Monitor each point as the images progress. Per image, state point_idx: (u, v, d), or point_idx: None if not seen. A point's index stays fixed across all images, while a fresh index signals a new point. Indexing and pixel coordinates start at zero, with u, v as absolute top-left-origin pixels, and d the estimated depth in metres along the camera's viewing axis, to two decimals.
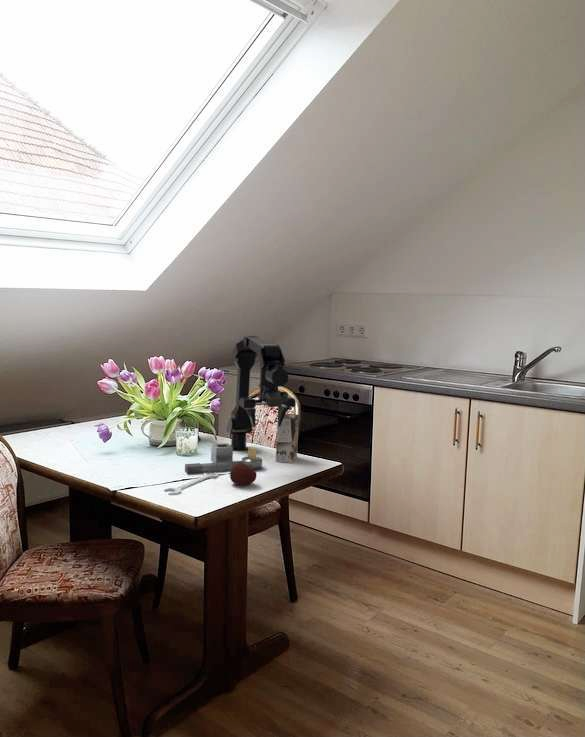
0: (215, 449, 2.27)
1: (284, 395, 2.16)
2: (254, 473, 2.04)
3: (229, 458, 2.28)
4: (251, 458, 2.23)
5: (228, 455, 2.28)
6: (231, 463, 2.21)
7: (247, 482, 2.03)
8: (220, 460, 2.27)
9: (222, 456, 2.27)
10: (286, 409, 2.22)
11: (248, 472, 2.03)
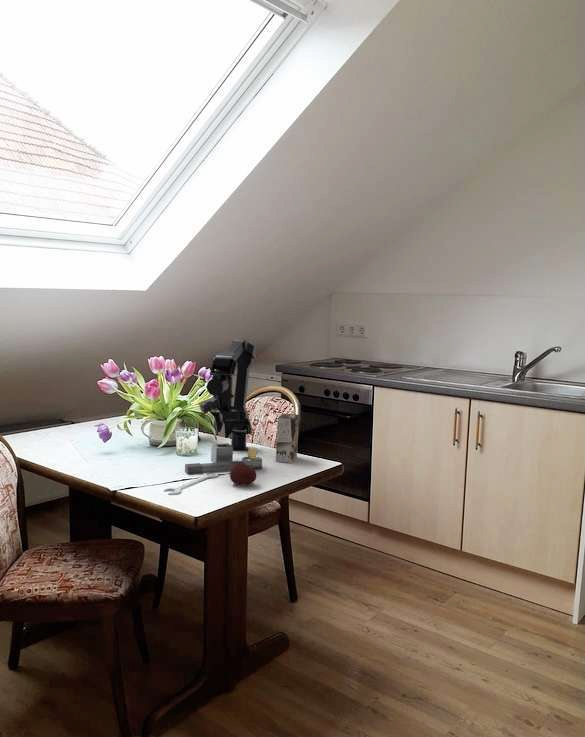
0: (215, 449, 2.27)
1: (205, 403, 2.22)
2: (254, 473, 2.04)
3: (229, 458, 2.28)
4: (251, 458, 2.23)
5: (228, 455, 2.28)
6: (231, 463, 2.21)
7: (247, 482, 2.03)
8: (220, 460, 2.27)
9: (222, 456, 2.27)
10: None
11: (248, 472, 2.03)
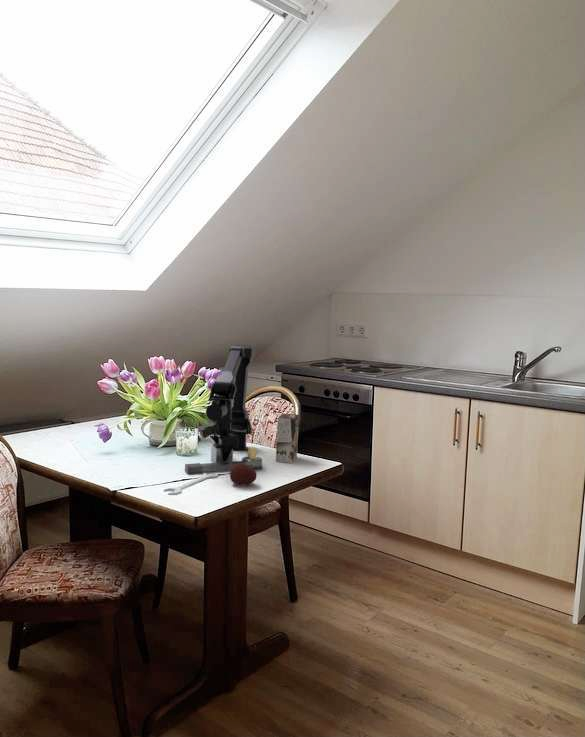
0: (215, 449, 2.27)
1: (204, 428, 2.23)
2: (254, 473, 2.04)
3: (229, 458, 2.28)
4: (251, 458, 2.23)
5: None
6: (231, 463, 2.21)
7: (247, 482, 2.03)
8: (220, 460, 2.27)
9: None
10: (219, 444, 2.24)
11: (248, 472, 2.03)
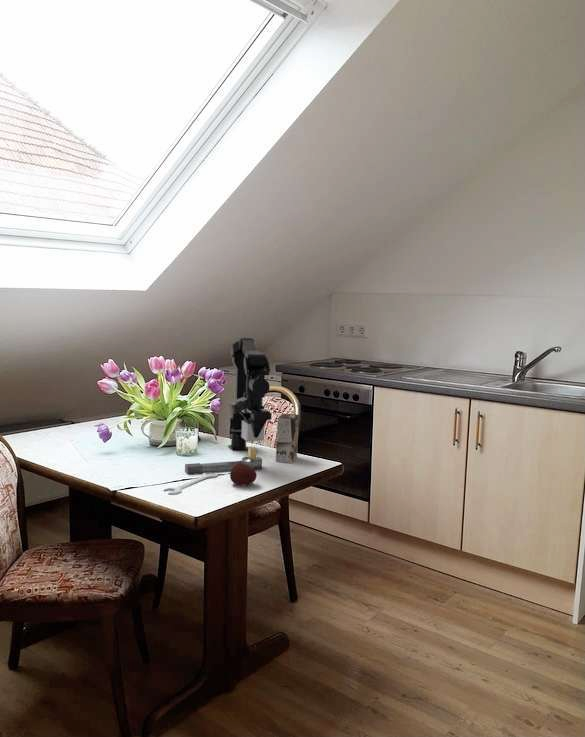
0: (246, 425, 2.20)
1: (236, 402, 2.16)
2: (254, 473, 2.04)
3: (260, 434, 2.22)
4: (251, 458, 2.23)
5: None
6: (231, 463, 2.21)
7: (247, 482, 2.03)
8: (251, 436, 2.20)
9: (253, 432, 2.20)
10: (251, 420, 2.18)
11: (248, 472, 2.03)
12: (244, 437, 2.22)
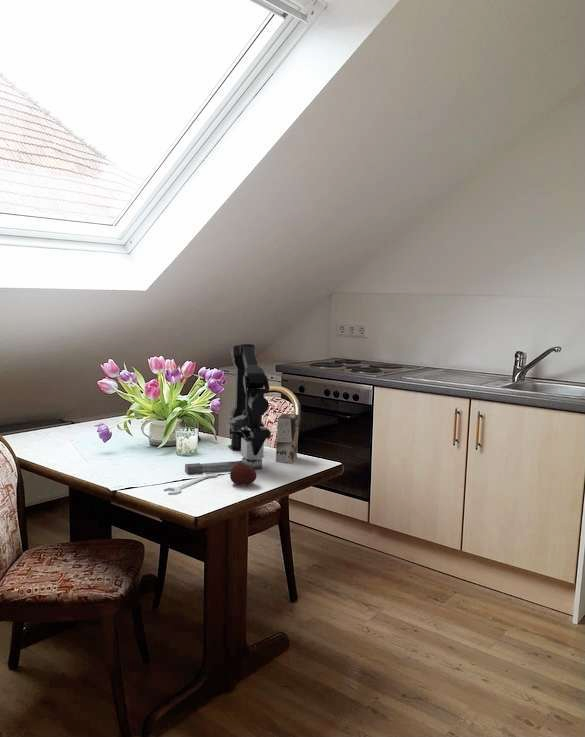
0: (245, 442, 2.21)
1: (235, 421, 2.17)
2: (254, 473, 2.04)
3: (260, 452, 2.22)
4: None
5: None
6: (231, 463, 2.21)
7: (247, 482, 2.03)
8: (251, 454, 2.21)
9: None
10: (250, 438, 2.19)
11: (248, 472, 2.03)
12: (243, 455, 2.23)
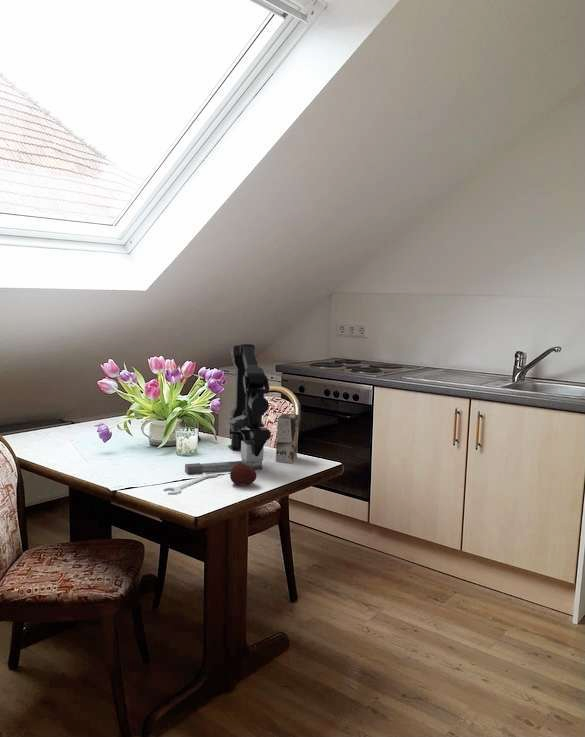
0: (245, 445, 2.21)
1: (235, 421, 2.17)
2: (254, 473, 2.04)
3: (260, 454, 2.23)
4: None
5: None
6: (231, 463, 2.21)
7: (247, 482, 2.03)
8: (251, 457, 2.21)
9: (253, 453, 2.21)
10: (251, 439, 2.17)
11: (248, 472, 2.03)
12: (243, 457, 2.23)
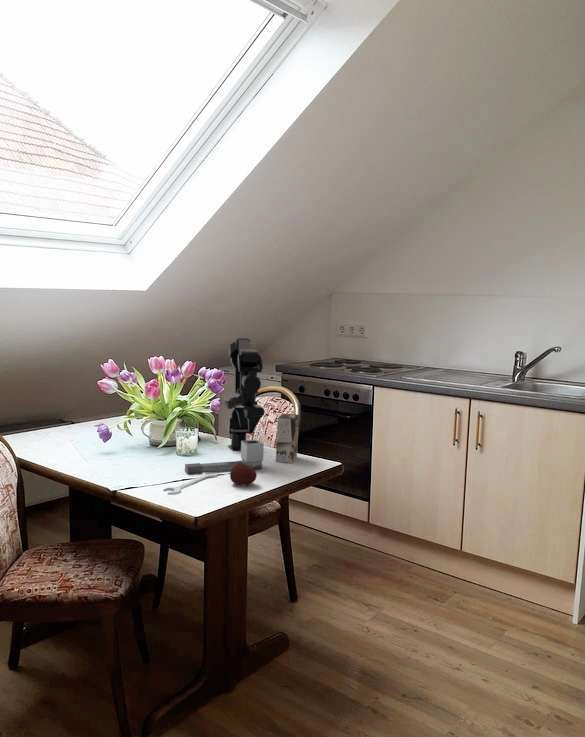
0: (245, 445, 2.21)
1: (230, 399, 2.23)
2: (254, 473, 2.04)
3: (260, 454, 2.23)
4: None
5: (259, 452, 2.22)
6: (231, 463, 2.21)
7: (247, 482, 2.03)
8: (251, 457, 2.21)
9: (253, 453, 2.21)
10: (245, 416, 2.23)
11: (248, 472, 2.03)
12: (243, 457, 2.23)
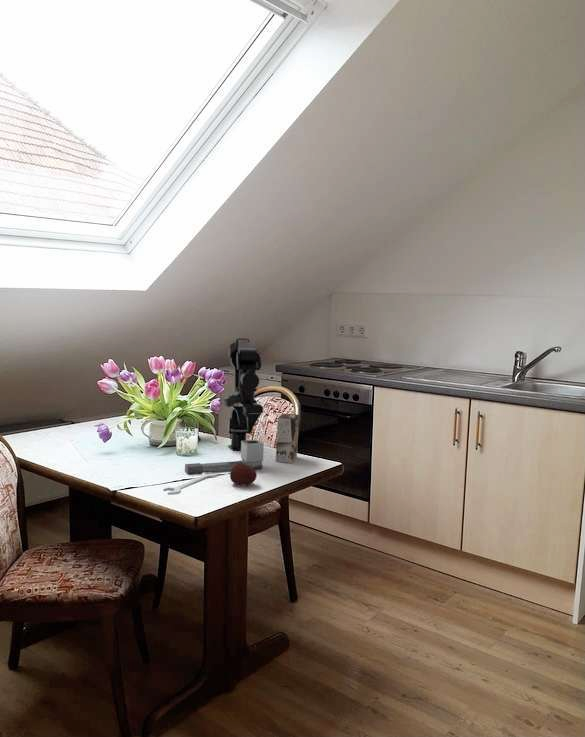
0: (245, 445, 2.21)
1: (229, 396, 2.24)
2: (254, 473, 2.04)
3: (260, 454, 2.23)
4: None
5: (259, 452, 2.22)
6: (231, 463, 2.21)
7: (247, 482, 2.03)
8: (251, 457, 2.21)
9: (253, 453, 2.21)
10: (244, 414, 2.24)
11: (248, 472, 2.03)
12: (243, 457, 2.23)
